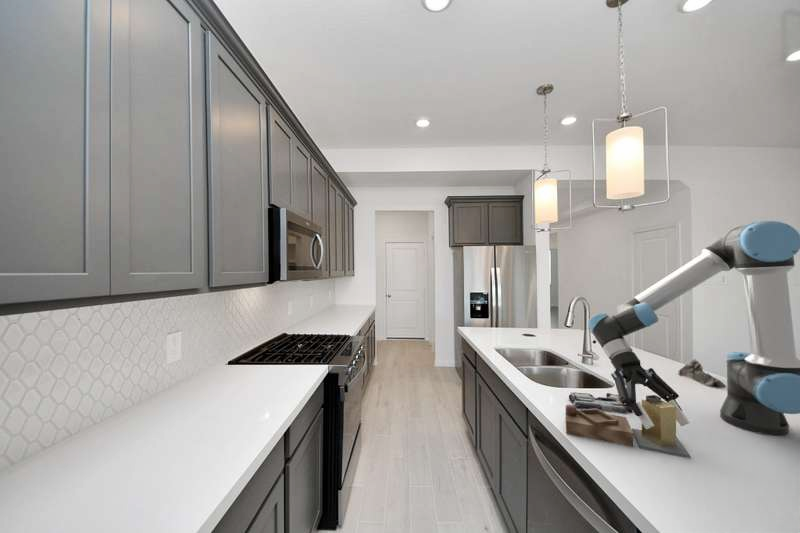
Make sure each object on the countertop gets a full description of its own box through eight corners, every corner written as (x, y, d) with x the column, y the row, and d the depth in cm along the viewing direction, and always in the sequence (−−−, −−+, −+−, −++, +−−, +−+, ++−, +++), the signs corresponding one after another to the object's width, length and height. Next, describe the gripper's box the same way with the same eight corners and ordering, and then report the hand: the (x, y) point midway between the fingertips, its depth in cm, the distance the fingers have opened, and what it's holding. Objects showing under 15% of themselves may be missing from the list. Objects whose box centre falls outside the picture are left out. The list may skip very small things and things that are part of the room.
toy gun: (617, 399, 127) (637, 417, 112) (563, 394, 130) (576, 410, 116) (618, 392, 126) (638, 409, 112) (564, 387, 130) (576, 403, 116)
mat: (676, 438, 96) (676, 436, 96) (690, 458, 86) (690, 455, 86) (631, 430, 101) (631, 428, 101) (639, 448, 91) (639, 445, 91)
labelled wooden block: (656, 434, 97) (655, 394, 97) (676, 445, 91) (675, 402, 91) (641, 436, 96) (641, 395, 96) (661, 447, 90) (660, 403, 90)
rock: (673, 372, 156) (683, 353, 154) (696, 381, 154) (706, 362, 153) (699, 388, 138) (710, 367, 137) (726, 398, 136) (737, 378, 135)
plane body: (625, 429, 102) (625, 408, 102) (633, 447, 91) (633, 424, 91) (565, 418, 109) (565, 399, 109) (566, 433, 99) (566, 412, 99)
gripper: (645, 360, 111) (693, 427, 95) (584, 363, 107) (623, 433, 91) (659, 348, 105) (712, 417, 90) (596, 351, 102) (640, 424, 86)
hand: (668, 426), depth 91 cm, fingers open, 11 cm apart
